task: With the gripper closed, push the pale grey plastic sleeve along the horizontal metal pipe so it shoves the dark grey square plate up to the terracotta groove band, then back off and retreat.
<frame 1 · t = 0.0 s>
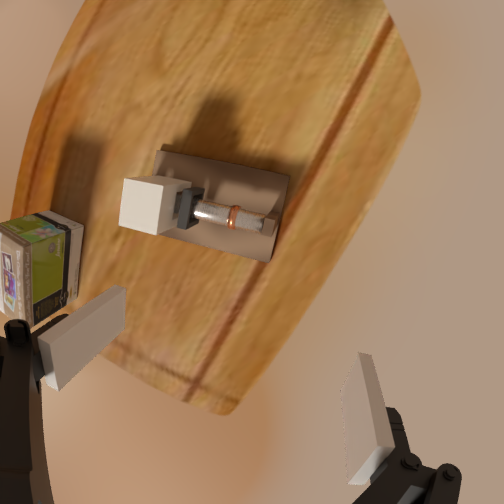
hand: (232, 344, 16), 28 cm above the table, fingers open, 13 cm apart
sleeve: (156, 201, 36), point 7 cm above the table, slide at -5.0 cm
tea box: (62, 254, 50), on the table
pipe: (198, 208, 37), point 5 cm above the table
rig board: (212, 203, 43), on the table
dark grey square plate: (191, 207, 37), point 6 cm above the table, slide at -1.0 cm
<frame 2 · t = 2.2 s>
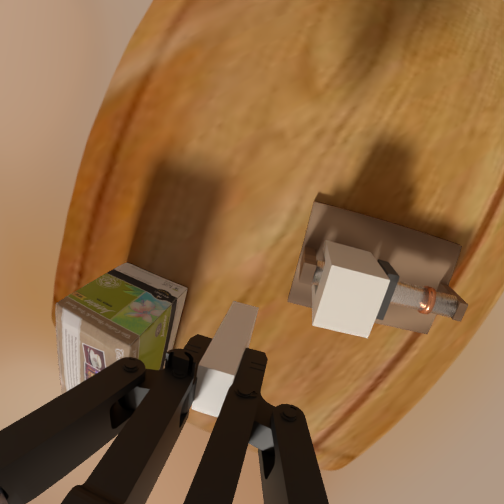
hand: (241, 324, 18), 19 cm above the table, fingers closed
sleeve: (345, 284, 28), point 7 cm above the table, slide at -5.0 cm
tea box: (147, 318, 42), on the table
pipe: (389, 290, 29), point 5 cm above the table
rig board: (377, 271, 35), on the table
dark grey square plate: (380, 288, 29), point 6 cm above the table, slide at -1.0 cm
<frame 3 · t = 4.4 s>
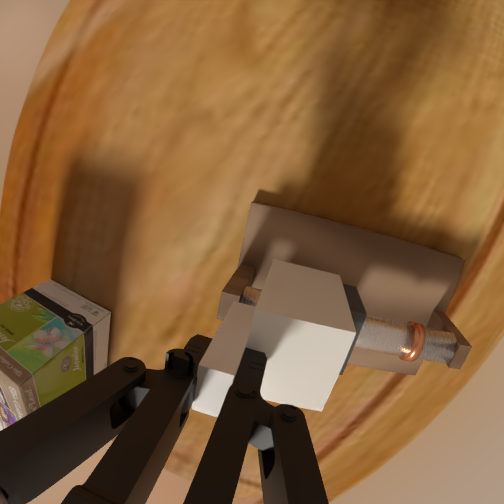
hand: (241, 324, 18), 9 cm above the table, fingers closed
sleeve: (295, 327, 19), point 8 cm above the table, slide at -4.2 cm, touching gripper
tea box: (78, 343, 33), on the table
pipe: (355, 330, 20), point 5 cm above the table
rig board: (346, 296, 26), on the table
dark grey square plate: (342, 327, 20), point 6 cm above the table, slide at -1.0 cm
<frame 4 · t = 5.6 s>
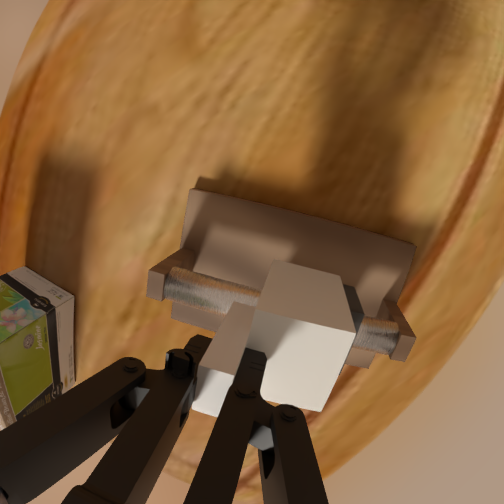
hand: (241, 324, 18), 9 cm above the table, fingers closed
sleeve: (295, 327, 19), point 7 cm above the table, slide at 1.0 cm, touching gripper, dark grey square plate
tea box: (49, 327, 34), on the table
pipe: (282, 313, 21), point 5 cm above the table
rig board: (288, 282, 26), on the table
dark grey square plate: (339, 327, 20), point 6 cm above the table, slide at 4.0 cm, touching sleeve
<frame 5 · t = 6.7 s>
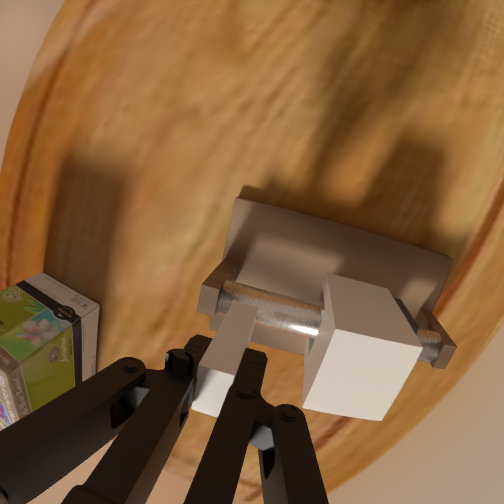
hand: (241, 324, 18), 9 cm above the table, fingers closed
sleeve: (353, 340, 19), point 7 cm above the table, slide at 1.1 cm, touching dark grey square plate
tea box: (68, 335, 33), on the table
pipe: (336, 326, 20), point 5 cm above the table
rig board: (330, 293, 26), on the table
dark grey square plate: (389, 338, 20), point 6 cm above the table, slide at 4.2 cm, touching sleeve
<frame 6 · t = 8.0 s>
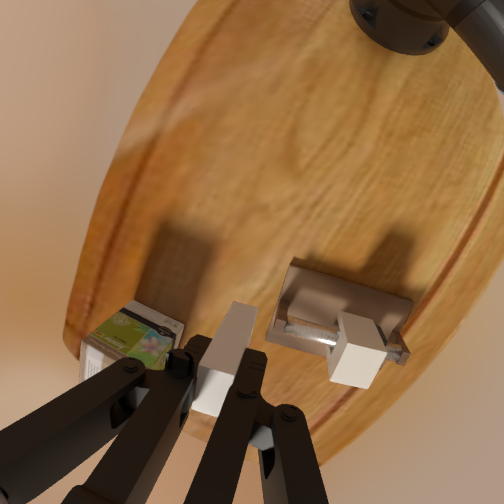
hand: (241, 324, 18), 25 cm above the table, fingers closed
sleeve: (353, 348, 36), point 7 cm above the table, slide at 1.1 cm, touching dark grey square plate
tea box: (149, 345, 50), on the table
pipe: (344, 340, 38), point 5 cm above the table
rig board: (339, 320, 44), on the table
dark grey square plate: (372, 347, 37), point 6 cm above the table, slide at 4.2 cm, touching sleeve
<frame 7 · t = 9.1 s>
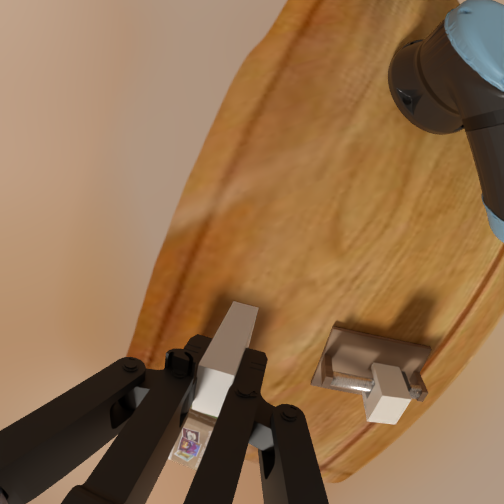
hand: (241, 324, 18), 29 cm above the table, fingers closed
sleeve: (384, 393, 42), point 8 cm above the table, slide at 1.1 cm, touching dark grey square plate
tea box: (207, 390, 57), on the table
pipe: (377, 386, 44), point 5 cm above the table
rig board: (371, 365, 49), on the table
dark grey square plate: (398, 389, 43), point 6 cm above the table, slide at 4.2 cm, touching sleeve
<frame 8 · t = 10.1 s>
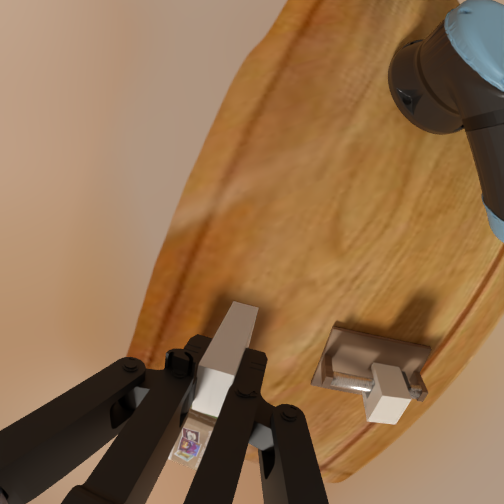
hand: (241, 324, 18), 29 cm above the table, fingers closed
sleeve: (384, 393, 42), point 7 cm above the table, slide at 1.1 cm, touching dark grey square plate
tea box: (207, 390, 57), on the table
pipe: (377, 386, 44), point 5 cm above the table
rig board: (371, 365, 49), on the table
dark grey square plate: (399, 389, 43), point 6 cm above the table, slide at 4.2 cm, touching sleeve
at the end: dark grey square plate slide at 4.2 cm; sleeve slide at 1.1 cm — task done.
